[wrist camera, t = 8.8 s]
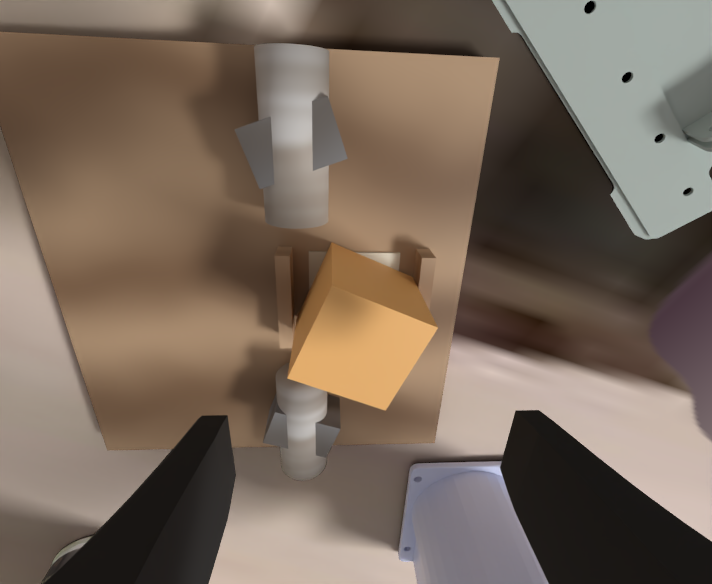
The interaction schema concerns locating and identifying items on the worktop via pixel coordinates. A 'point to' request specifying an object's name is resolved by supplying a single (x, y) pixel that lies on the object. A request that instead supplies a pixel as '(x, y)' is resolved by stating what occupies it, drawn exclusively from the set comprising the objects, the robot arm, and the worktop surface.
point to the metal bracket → (633, 96)
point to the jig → (239, 220)
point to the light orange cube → (359, 329)
